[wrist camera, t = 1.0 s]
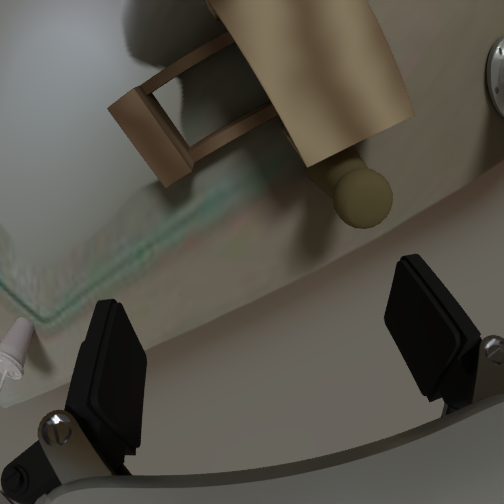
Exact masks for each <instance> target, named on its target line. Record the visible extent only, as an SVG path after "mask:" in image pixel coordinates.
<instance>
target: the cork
mask: <svg viewBox="0 0 504 504" xmlns="http://www.w3.org/2000/svg"><path fill="white" fill-rule="evenodd" d="M305 169H306V172H307V174H308V176H309V178H310V179H311V180H312V181H313V182H314V183H316V184H317V185H318V186H319V187H320V188H321V189H322V190H323V191H325V192H326V193H327V194H328V195H329V196H330V197H331V198H332V199H333V201H334V208H335V210H336V212H337V214H338V216H339V217H340V218H341V219H342V220H343V221H344V222H345V223H346V224H348V225H349V226H352V227H354V228H362V229H366V228H371V227H374V226H376V225H378V224H380V223H381V222H382V221H383V220H384V219H385V218H386V217H387V215H388V214H389V212H390V210H391V206H392V202H393V193H392V190H391V187H390V185H389V183H388V181H387V180H386V179H385V178H384V177H383V176H382V175H381V174H380V173H378V172H376V171H374V170H372V169H368V167H367V166H366V164H365V163H364V161H363V160H362V158H361V157H360V155H359V154H358V153H357V151H356V150H355V148H354V147H353V146H350V147H348V148H346V149H344V150H342V151H340V152H338V153H336V154H334V155H332V156H329V157H328V158H326V159H324V160H322V161H320V162H318V163H316V164H314V165H312V166H310V167H308V168H307V166H306V165H305Z"/></svg>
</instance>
